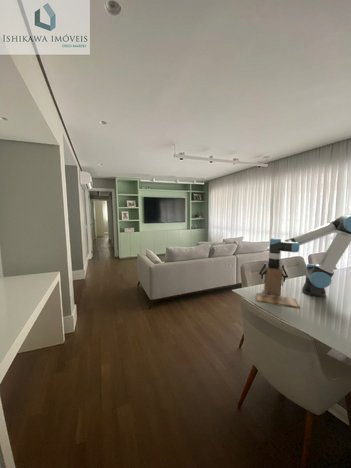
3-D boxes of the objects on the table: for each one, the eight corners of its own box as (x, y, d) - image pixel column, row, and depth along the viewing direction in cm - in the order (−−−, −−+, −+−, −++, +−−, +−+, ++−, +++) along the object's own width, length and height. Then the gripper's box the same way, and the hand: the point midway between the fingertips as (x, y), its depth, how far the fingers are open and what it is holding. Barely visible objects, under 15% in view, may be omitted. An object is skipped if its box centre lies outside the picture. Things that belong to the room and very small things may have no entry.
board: (295, 300, 139) (295, 298, 139) (299, 308, 127) (299, 306, 127) (256, 294, 149) (256, 292, 149) (256, 301, 137) (256, 299, 137)
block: (281, 295, 147) (282, 269, 145) (267, 294, 149) (268, 269, 147) (277, 290, 156) (278, 266, 154) (263, 289, 158) (265, 265, 156)
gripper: (291, 258, 149) (289, 285, 151) (256, 255, 158) (255, 280, 160) (293, 260, 142) (291, 288, 144) (256, 257, 151) (255, 283, 153)
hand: (272, 284), depth 152 cm, fingers open, 13 cm apart
